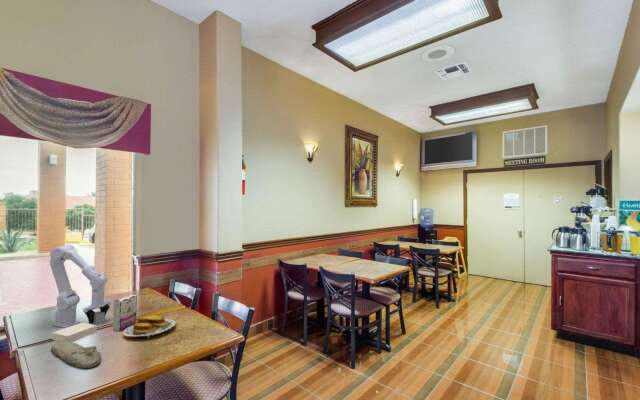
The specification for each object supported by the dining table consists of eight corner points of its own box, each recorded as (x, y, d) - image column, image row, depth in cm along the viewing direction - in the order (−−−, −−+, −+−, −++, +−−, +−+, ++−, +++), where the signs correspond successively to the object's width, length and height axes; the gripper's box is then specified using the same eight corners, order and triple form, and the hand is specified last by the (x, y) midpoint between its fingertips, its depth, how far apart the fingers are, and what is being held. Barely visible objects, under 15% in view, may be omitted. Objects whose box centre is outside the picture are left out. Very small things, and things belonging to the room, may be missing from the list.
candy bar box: (129, 322, 171) (130, 294, 172) (136, 323, 170) (137, 295, 171) (111, 330, 160) (113, 300, 161) (119, 331, 159) (121, 300, 160)
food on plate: (122, 346, 144) (123, 332, 144) (121, 328, 165) (122, 316, 165) (179, 334, 159) (180, 322, 159) (172, 319, 179) (172, 308, 179)
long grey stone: (70, 345, 146) (44, 355, 137) (69, 335, 146) (43, 344, 137) (108, 361, 129) (81, 373, 121) (108, 349, 129) (81, 360, 121)
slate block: (89, 325, 167) (89, 314, 167) (97, 321, 172) (98, 311, 172) (95, 326, 166) (96, 315, 166) (104, 322, 170) (104, 312, 170)
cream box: (51, 340, 148) (52, 332, 148) (82, 329, 161) (82, 322, 161) (66, 344, 144) (67, 336, 145) (96, 333, 158) (96, 325, 158)
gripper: (90, 301, 161) (89, 326, 161) (115, 294, 175) (114, 317, 174) (80, 300, 163) (79, 325, 163) (106, 292, 177) (105, 315, 176)
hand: (96, 320), depth 169 cm, fingers open, 6 cm apart
